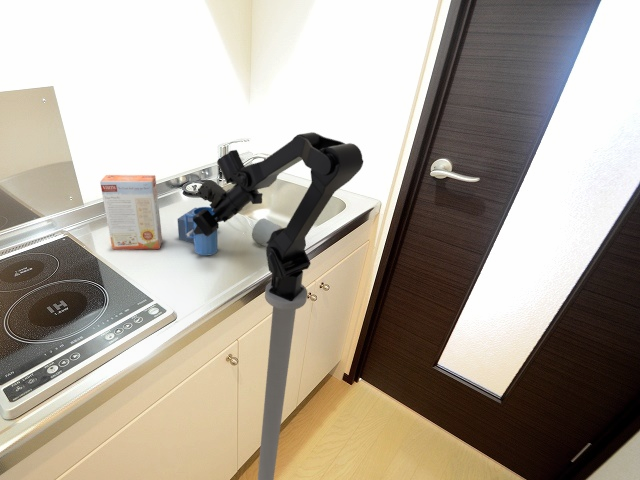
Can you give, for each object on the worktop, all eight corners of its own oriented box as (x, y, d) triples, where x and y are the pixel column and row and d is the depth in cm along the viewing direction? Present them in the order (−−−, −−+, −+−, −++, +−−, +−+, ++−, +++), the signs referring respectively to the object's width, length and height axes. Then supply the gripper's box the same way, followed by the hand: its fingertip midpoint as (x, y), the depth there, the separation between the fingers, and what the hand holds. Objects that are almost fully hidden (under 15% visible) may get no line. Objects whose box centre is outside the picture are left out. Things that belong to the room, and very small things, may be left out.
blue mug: (221, 247, 108) (221, 209, 102) (210, 257, 103) (209, 218, 97) (192, 239, 112) (190, 202, 106) (180, 249, 107) (177, 211, 100)
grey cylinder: (271, 254, 107) (273, 230, 103) (250, 244, 112) (252, 221, 108) (292, 242, 114) (295, 220, 110) (272, 234, 118) (274, 212, 115)
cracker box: (162, 240, 113) (156, 174, 102) (159, 250, 108) (152, 181, 97) (117, 240, 112) (105, 173, 101) (111, 249, 107) (99, 180, 96)
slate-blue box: (195, 227, 122) (195, 207, 118) (216, 232, 119) (216, 212, 115) (169, 246, 110) (167, 225, 106) (191, 252, 107) (190, 230, 103)
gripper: (233, 164, 100) (200, 195, 110) (197, 183, 86) (163, 217, 96) (258, 196, 102) (223, 224, 111) (227, 221, 87) (190, 250, 97)
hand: (201, 228), depth 104 cm, fingers closed on blue mug, 7 cm apart
